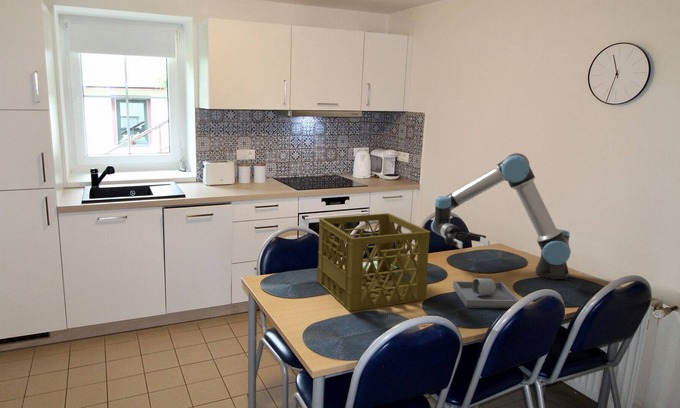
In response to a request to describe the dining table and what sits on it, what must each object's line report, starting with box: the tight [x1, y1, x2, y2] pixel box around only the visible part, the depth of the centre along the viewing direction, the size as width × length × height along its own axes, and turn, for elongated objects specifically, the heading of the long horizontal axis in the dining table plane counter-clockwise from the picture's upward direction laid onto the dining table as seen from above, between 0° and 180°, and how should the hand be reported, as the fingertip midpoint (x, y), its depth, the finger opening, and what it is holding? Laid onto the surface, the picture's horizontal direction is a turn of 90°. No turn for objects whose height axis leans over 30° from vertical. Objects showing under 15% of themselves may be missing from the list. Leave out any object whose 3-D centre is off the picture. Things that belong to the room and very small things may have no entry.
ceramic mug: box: [472, 277, 496, 296], centre depth 220 cm, size 11×8×8 cm
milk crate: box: [316, 212, 431, 312], centre depth 220 cm, size 36×35×30 cm
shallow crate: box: [452, 280, 520, 309], centre depth 219 cm, size 22×22×3 cm
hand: (475, 244), depth 224 cm, fingers open, 13 cm apart
